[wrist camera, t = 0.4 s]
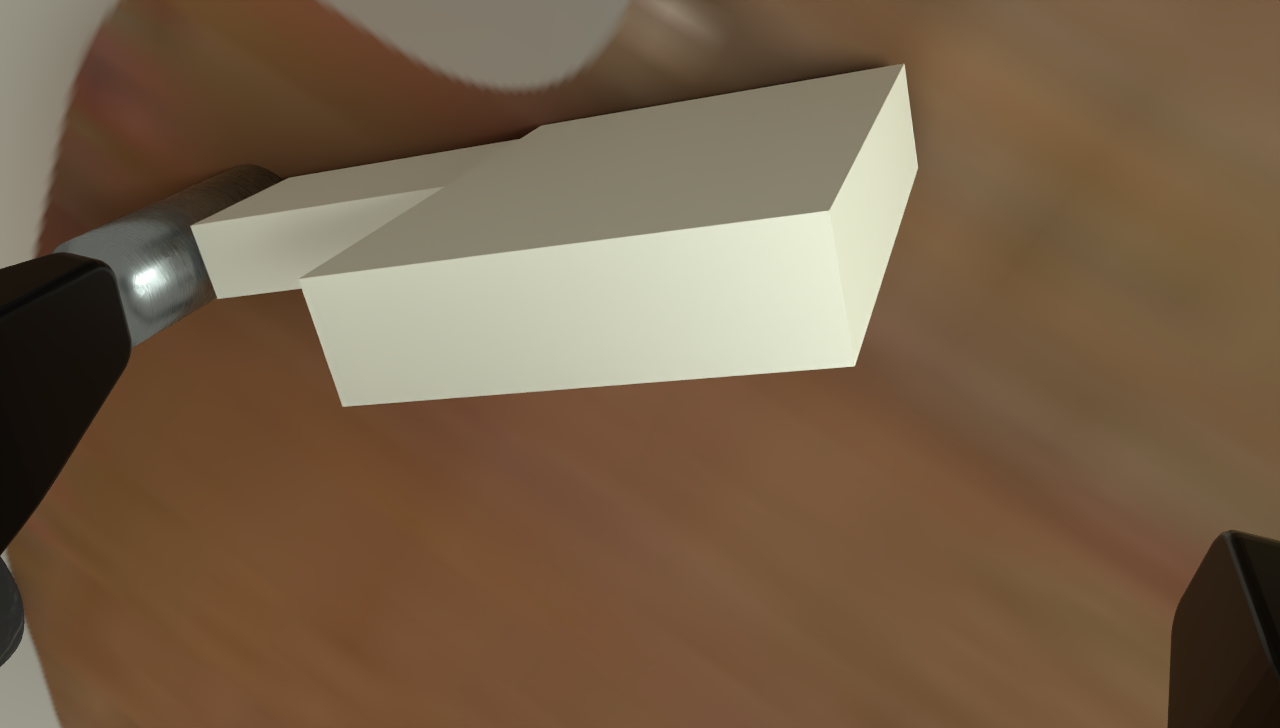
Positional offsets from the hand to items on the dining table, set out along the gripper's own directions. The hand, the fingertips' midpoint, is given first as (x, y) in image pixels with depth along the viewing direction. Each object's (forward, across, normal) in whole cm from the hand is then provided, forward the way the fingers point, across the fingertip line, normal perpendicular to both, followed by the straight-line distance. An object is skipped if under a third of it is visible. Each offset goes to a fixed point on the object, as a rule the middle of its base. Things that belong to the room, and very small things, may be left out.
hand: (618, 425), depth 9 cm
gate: (+14, +5, +6) cm, 16 cm away
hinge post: (+14, +13, +9) cm, 21 cm away
